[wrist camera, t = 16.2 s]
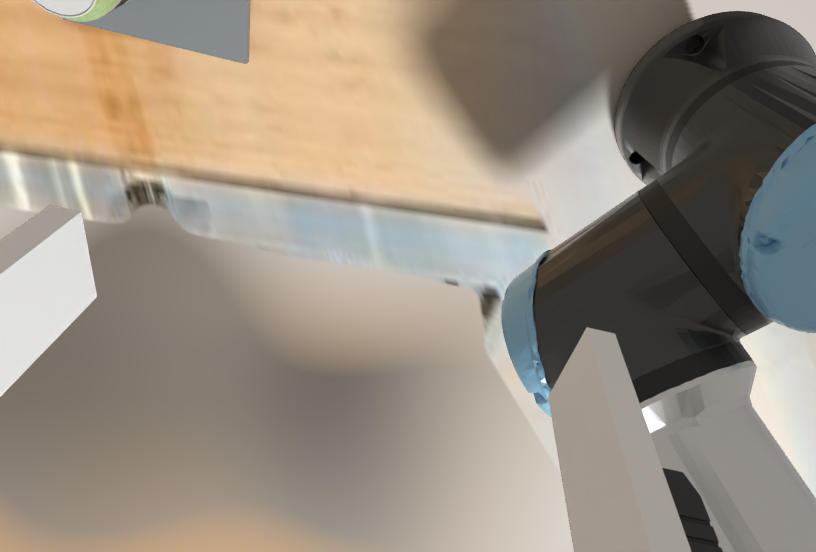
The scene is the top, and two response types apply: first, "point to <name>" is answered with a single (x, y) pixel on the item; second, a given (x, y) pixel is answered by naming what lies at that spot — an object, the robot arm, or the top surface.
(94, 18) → the beverage can
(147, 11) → the rubber mat
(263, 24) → the top surface
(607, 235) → the robot arm
